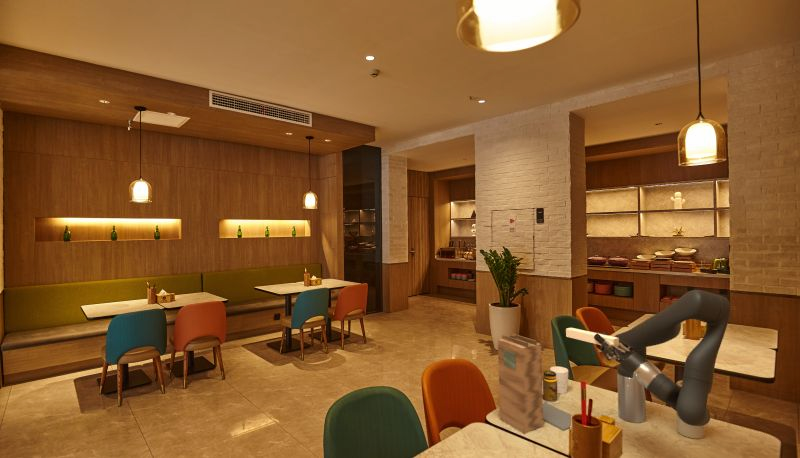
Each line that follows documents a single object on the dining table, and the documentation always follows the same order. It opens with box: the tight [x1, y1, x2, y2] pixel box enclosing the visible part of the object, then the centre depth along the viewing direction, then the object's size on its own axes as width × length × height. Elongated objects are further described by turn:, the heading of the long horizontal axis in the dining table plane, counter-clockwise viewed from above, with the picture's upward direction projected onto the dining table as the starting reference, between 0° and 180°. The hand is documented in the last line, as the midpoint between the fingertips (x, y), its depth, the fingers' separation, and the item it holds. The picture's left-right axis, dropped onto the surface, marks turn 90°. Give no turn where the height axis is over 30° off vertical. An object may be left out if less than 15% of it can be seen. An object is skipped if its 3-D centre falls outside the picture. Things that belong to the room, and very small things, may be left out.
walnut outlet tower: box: [497, 332, 544, 435], centre depth 156 cm, size 10×13×34 cm
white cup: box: [549, 366, 569, 395], centre depth 185 cm, size 8×8×10 cm
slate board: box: [543, 402, 573, 432], centre depth 161 cm, size 12×19×1 cm, turn 28°
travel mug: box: [675, 380, 705, 440], centre depth 145 cm, size 8×8×18 cm
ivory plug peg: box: [565, 327, 619, 347], centre depth 145 cm, size 3×19×3 cm, turn 29°
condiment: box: [542, 370, 560, 404], centre depth 177 cm, size 7×8×12 cm
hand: (598, 334), depth 142 cm, fingers closed on ivory plug peg, 3 cm apart
